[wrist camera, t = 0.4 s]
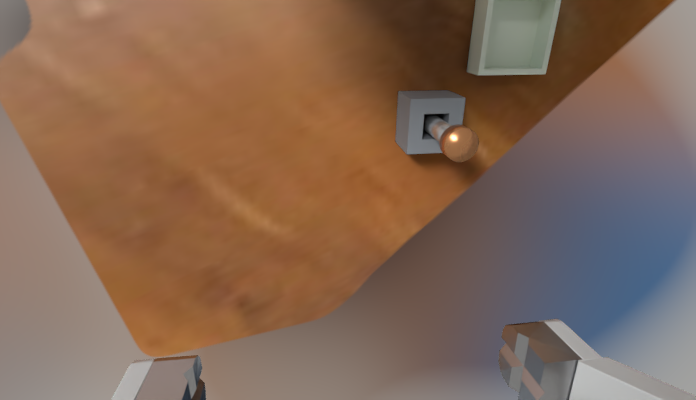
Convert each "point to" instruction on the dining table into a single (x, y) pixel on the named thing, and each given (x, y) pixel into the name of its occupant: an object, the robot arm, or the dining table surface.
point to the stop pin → (452, 138)
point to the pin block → (412, 118)
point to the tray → (512, 36)
